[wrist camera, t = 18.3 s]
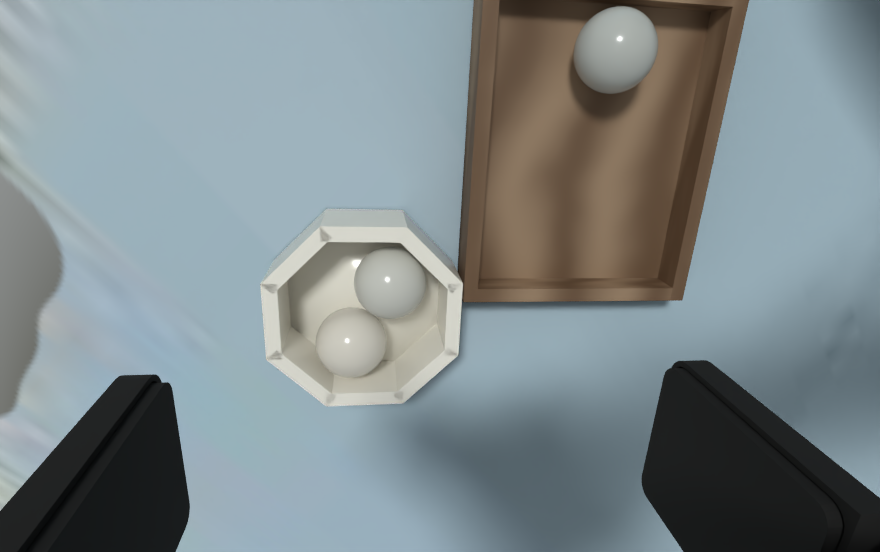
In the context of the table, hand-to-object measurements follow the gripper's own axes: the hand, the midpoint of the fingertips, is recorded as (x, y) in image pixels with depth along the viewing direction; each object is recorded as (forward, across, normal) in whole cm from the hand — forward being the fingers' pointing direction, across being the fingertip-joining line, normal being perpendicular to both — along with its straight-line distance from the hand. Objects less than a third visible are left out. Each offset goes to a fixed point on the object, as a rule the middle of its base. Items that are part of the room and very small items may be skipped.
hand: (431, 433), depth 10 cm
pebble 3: (+28, -14, -9) cm, 32 cm away
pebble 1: (+26, +1, +9) cm, 28 cm away
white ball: (+27, +1, +6) cm, 28 cm away
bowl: (+28, +2, +8) cm, 30 cm away
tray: (+28, -14, -2) cm, 32 cm away
